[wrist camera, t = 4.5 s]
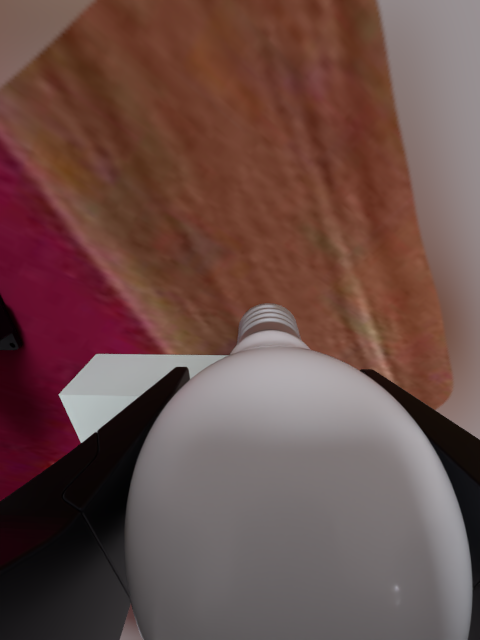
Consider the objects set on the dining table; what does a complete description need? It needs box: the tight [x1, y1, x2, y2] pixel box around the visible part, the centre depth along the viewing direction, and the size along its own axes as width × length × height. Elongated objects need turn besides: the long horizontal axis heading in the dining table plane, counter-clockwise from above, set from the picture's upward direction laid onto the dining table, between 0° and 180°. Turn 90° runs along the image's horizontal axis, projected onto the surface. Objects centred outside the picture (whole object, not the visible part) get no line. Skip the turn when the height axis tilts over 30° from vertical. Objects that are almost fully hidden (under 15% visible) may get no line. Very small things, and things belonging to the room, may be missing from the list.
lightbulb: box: [124, 303, 473, 640], centre depth 8 cm, size 6×6×11 cm
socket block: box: [59, 354, 229, 443], centre depth 24 cm, size 15×15×5 cm
